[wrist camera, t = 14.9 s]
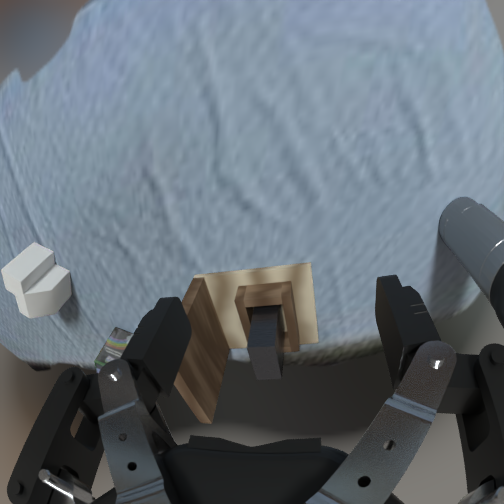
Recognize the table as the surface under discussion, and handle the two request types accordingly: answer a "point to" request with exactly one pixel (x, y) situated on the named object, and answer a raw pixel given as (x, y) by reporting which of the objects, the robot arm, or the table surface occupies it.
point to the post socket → (238, 323)
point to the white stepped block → (37, 282)
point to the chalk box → (113, 347)
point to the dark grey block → (267, 342)
